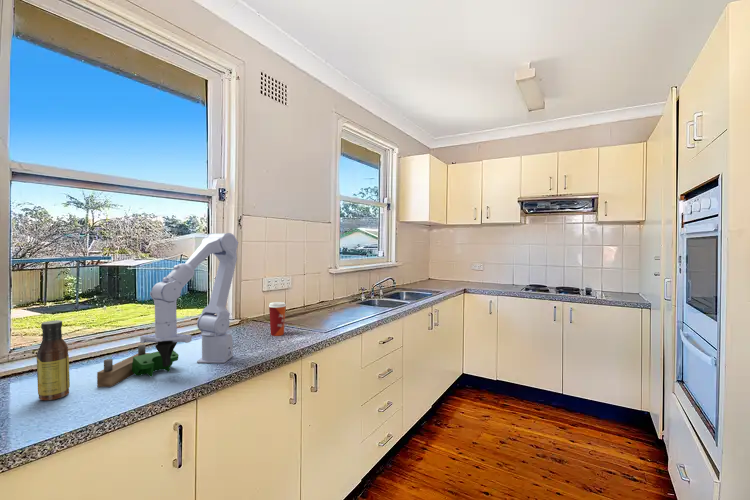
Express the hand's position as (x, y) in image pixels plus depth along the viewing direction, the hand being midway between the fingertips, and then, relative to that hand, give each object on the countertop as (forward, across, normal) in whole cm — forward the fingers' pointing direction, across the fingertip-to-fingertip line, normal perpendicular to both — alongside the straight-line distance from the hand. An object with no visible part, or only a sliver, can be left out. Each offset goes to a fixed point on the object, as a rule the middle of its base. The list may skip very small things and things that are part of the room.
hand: (166, 365), depth 111 cm
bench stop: (+3, -12, 0) cm, 13 cm away
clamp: (+3, -4, +2) cm, 6 cm away
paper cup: (+3, +21, +50) cm, 54 cm away
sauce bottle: (+3, -20, -16) cm, 26 cm away
